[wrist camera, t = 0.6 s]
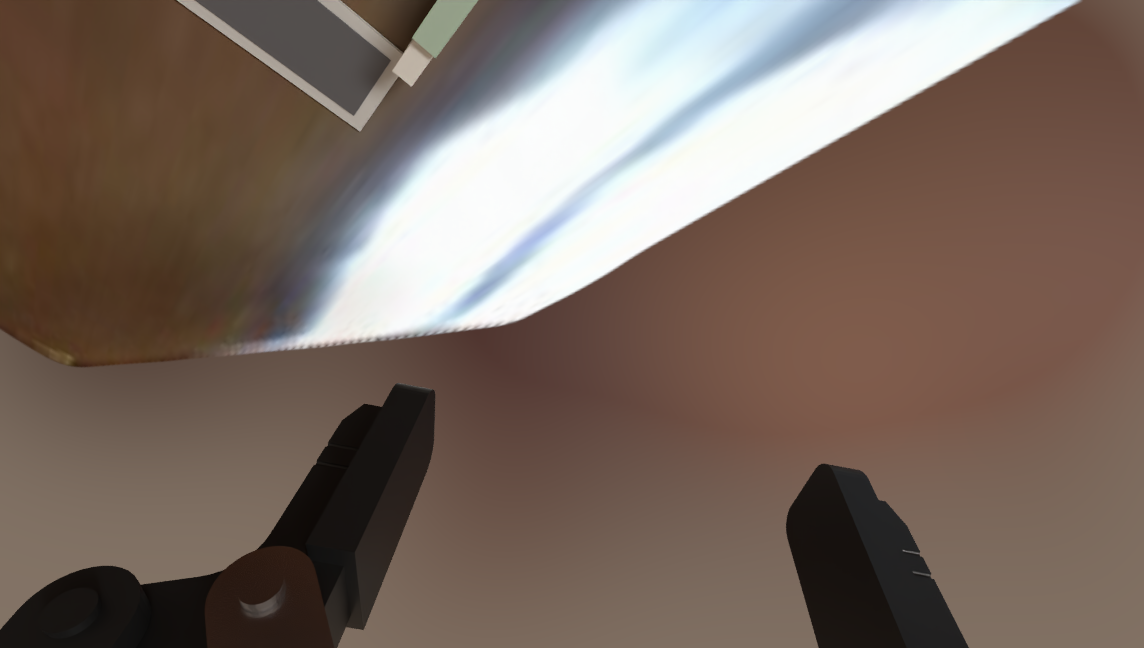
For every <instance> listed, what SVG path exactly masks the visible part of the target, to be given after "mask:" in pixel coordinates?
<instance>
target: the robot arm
mask: <svg viewBox="0 0 1144 648" xmlns="http://www.w3.org/2000/svg"><path fill="white" fill-rule="evenodd" d="M434 421H435V391H434V390H433V389H427V388H422V387H416V386H411V385H406V384H400V383H397V384H396V385H395V386H394V387H393V389H392V390H391V392H390V394H389V396H388V397H387V399H386V401H385V403H384V405H383V406H382V407H379V406H374V405H368V404H363V405H362V406H361V407H360V408H358V409H357V410H355V411H354V412H353V413H352V414H350V415H349V416H347V417H346V418H345V419H343V420H342V422H341V423H340V425H339V426H338V428H337V429H336V431H335V432H334V434H333V436H332V437H331V439H330V440H329V442H328V446H327V447H325V449H324V450H323V451H322V453H321V455H320V456H319V458H318V459H317V463H316V465H314V466H313V467H312V469H311V471H310V472H309V474H308V475H307V477H306V478H305V480H304V482H303V483H302V485H301V486H300V488H299V489H298V491H297V492H296V494H295V496H294V497H293V499H292V500H291V502H290V504H289V505H288V507H287V508H286V510H285V511H284V513H283V515H282V516H281V518H280V520H279V521H278V523H277V524H276V526H275V527H274V529H273V530H272V532H271V534H270V535H269V536H268V538H267V539H266V540H265V542H264V543H263V544H262V545H261V546H260V547H259V548H258V549H257V550H255V551H253V552H251V553H248V554H246V555H244V556H243V557H241V558H239V559H238V560H236V561H235V562H234V563H232V564H231V565H229V566H228V567H227V568H226V569H225V570H223V571H220V572H217V573H214V574H210V575H206V576H201V577H194V578H186V579H179V580H172V581H165V582H157V583H151V584H143V585H140V583H139V582H138V580H137V579H136V577H135V576H134V575H133V574H132V573H131V572H129V571H128V570H125V569H123V568H120V567H115V566H97V567H91V568H87V569H82V570H79V571H76V572H73V573H71V574H68V575H66V576H64V577H62V578H60V579H58V580H56V581H54V582H52V583H50V584H49V585H47V586H46V587H44V588H43V589H41V590H40V591H39V592H37V593H36V594H34V595H33V596H32V597H31V598H30V599H28V601H26V602H25V603H24V604H23V605H22V606H21V607H20V608H19V609H18V610H17V611H16V612H15V614H14V615H13V616H12V617H11V618H10V619H9V621H8V622H7V623H6V624H5V625H4V626H3V627H2V629H1V630H0V648H337V647H338V644H339V642H340V639H341V637H342V635H343V633H344V630H345V628H346V627H350V628H356V629H362V630H363V629H364V627H365V625H366V622H367V620H368V618H369V615H370V612H371V610H372V607H373V605H374V603H375V600H376V597H377V595H378V592H379V590H380V587H381V585H382V582H383V580H384V577H385V575H386V572H387V570H388V567H389V565H390V562H391V560H392V557H393V555H394V552H395V550H396V547H397V545H398V542H399V540H400V537H401V535H402V532H403V530H404V527H405V525H406V522H407V520H408V517H409V515H410V512H411V510H412V507H413V505H414V502H415V500H416V497H417V495H418V492H419V490H420V487H421V485H422V482H423V480H424V477H425V474H426V472H427V469H428V466H429V463H430V460H431V455H432V451H433V444H434ZM786 532H787V538H788V542H789V545H790V549H791V552H792V556H793V559H794V563H795V566H796V570H797V573H798V576H799V580H800V584H801V587H802V591H803V594H804V598H805V601H806V605H807V608H808V612H809V615H810V618H811V622H812V626H813V629H814V633H815V636H816V640H817V643H818V647H819V648H969V647H968V645H967V643H966V641H965V639H964V638H963V635H962V634H961V632H960V630H959V628H958V626H957V624H956V622H955V620H954V618H953V616H952V614H951V612H950V610H949V608H948V606H947V604H946V602H945V600H944V598H943V596H942V594H941V592H940V590H939V588H938V586H937V584H936V582H935V580H934V579H931V577H930V575H931V572H930V570H929V569H928V567H927V565H926V563H925V561H924V559H923V558H922V557H920V555H919V554H920V551H919V549H918V547H917V545H916V543H915V541H914V539H913V537H912V535H911V533H910V531H909V529H908V527H907V525H906V524H905V523H904V522H903V521H902V520H901V519H900V518H899V516H898V515H897V514H896V513H895V512H894V511H893V510H892V508H891V507H890V506H889V505H888V504H887V503H886V502H885V501H880V500H878V498H877V496H876V494H875V492H874V490H873V488H872V486H871V484H870V481H869V479H868V478H867V476H866V475H865V474H864V473H863V472H862V471H860V470H855V469H850V468H844V467H839V466H834V465H828V464H821V465H819V466H818V467H817V468H816V469H815V471H814V472H813V474H812V475H811V476H810V478H809V480H808V481H807V483H806V484H805V486H804V487H803V489H802V491H801V492H800V493H799V495H798V496H797V498H796V499H795V501H794V503H793V504H792V506H791V507H790V509H789V512H788V515H787V522H786Z"/></svg>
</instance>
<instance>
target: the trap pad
mask: <svg viewBox="0 0 1144 648" xmlns="http://www.w3.org/2000/svg"><path fill="white" fill-rule="evenodd" d="M177 1H178V2H180V3H181V4H183V5H184V6H185V7H187V8H188V9H190V10H191V11H192V12H194V13H195V14H197V15H198V16H199V17H201V18H202V19H204V20H205V21H206V22H208V23H209V24H210V25H212V26H213V27H215V28H216V29H217V30H219V31H220V32H222V33H223V34H224V35H226V36H227V37H229V38H230V39H231V40H233V41H234V42H236V43H237V44H238V45H240V46H241V47H243V48H244V49H245V50H247V51H248V52H250V53H251V54H252V55H254V56H255V57H256V58H258V59H259V60H261V61H262V62H263V63H265V64H266V65H268V66H269V67H270V68H272V69H273V70H275V71H276V72H277V73H279V74H280V75H282V76H283V77H284V78H286V79H287V80H289V81H290V82H291V83H293V84H294V85H296V86H297V87H298V88H300V89H301V90H303V91H304V92H305V93H307V94H308V95H309V96H311V97H312V98H314V99H315V100H316V101H318V102H319V103H321V104H322V105H323V106H325V107H326V108H328V109H329V110H330V111H332V112H333V113H335V114H336V115H337V116H339V117H340V118H342V119H343V120H344V121H346V122H347V123H349V124H350V125H351V126H353V127H354V128H356V129H357V130H358V131H361V130H362V128H363V127H364V125H365V124H366V122H367V121H368V119H369V118H370V117H371V115H372V114H373V112H374V111H375V109H376V108H377V107H378V105H379V104H380V102H381V101H382V99H383V98H384V96H385V95H386V94H387V92H388V91H389V89H390V88H391V86H392V85H393V83H394V82H395V81H396V79H397V78H398V75H396V74H395V73H394V72H393V71H392V70H393V69H394V67H395V65H396V64H397V62H398V61H399V59H400V58H401V56H402V54H403V52H402V51H401V50H399V49H398V48H397V47H396V46H395V45H393V44H392V43H391V42H390V41H389V40H387V39H386V38H385V37H384V36H383V35H381V34H380V33H379V32H378V31H377V30H375V29H374V28H373V27H372V26H371V25H369V24H368V23H367V22H366V21H365V20H363V19H362V18H361V17H360V16H359V15H357V14H356V13H355V12H354V11H353V10H351V9H350V8H349V7H348V6H347V5H345V4H344V3H343V2H342V1H341V0H177Z"/></svg>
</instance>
